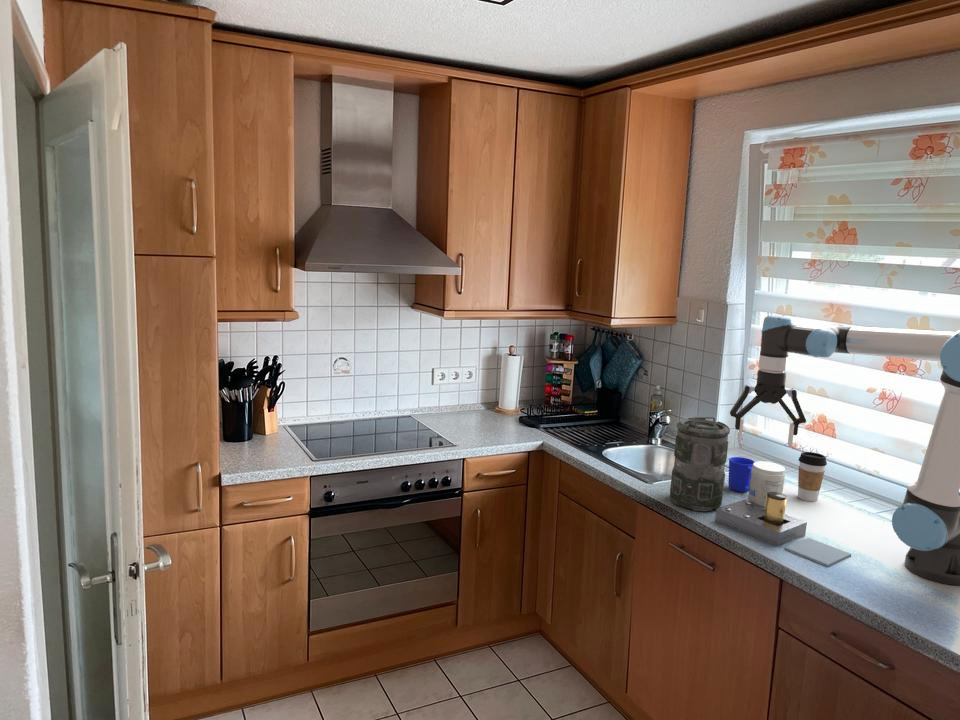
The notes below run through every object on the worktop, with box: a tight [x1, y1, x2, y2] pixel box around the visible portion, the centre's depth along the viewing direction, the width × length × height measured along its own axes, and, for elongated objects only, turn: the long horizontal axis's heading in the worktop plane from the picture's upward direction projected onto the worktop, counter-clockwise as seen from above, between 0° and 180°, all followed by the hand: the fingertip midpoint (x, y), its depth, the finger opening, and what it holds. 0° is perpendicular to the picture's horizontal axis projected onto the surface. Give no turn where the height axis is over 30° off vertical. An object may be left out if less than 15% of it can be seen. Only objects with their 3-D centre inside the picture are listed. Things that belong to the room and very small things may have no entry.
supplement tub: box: [747, 460, 786, 507], centre depth 219 cm, size 10×10×15 cm
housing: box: [715, 499, 808, 547], centre depth 207 cm, size 20×14×4 cm
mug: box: [727, 456, 755, 493], centre depth 237 cm, size 8×12×10 cm
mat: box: [784, 537, 852, 567], centre depth 193 cm, size 12×12×1 cm
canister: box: [669, 416, 731, 512], centre depth 223 cm, size 16×16×28 cm
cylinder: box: [764, 492, 788, 526], centre depth 203 cm, size 5×5×11 cm
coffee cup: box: [797, 451, 828, 502], centre depth 233 cm, size 8×8×15 cm
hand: (764, 443), depth 206 cm, fingers open, 13 cm apart
